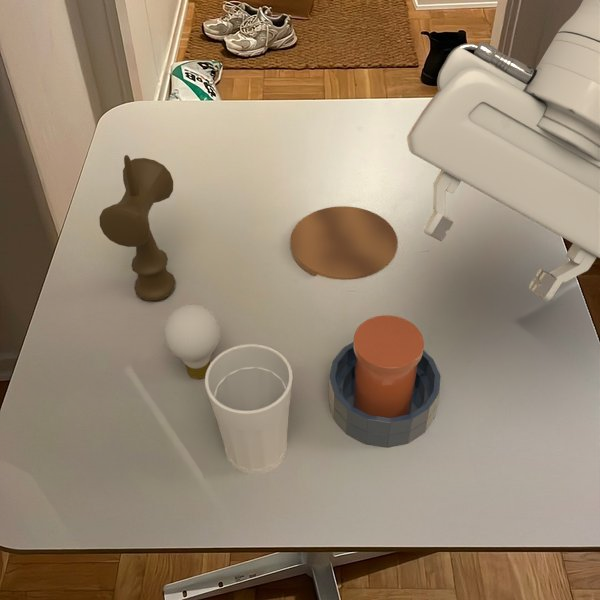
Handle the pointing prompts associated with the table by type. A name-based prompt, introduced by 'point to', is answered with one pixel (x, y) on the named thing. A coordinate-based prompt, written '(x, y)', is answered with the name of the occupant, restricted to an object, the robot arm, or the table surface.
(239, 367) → the cup
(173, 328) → the light bulb
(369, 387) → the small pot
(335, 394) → the bowl
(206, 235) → the table surface
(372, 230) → the disc
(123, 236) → the kendama
